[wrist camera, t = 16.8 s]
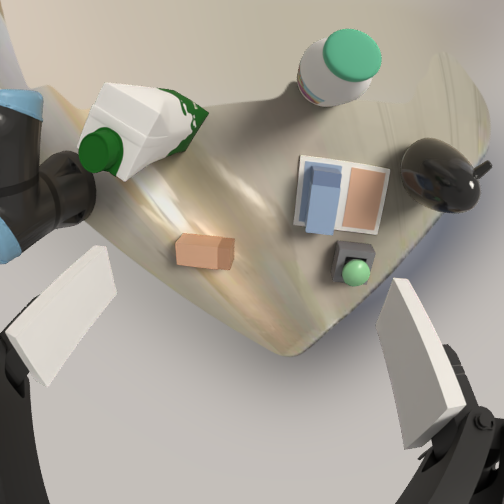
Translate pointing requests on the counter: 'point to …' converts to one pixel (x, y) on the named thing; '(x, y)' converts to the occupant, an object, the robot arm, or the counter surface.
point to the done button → (355, 272)
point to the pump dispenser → (441, 176)
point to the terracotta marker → (205, 251)
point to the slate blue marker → (322, 200)
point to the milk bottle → (338, 68)
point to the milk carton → (136, 128)
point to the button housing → (347, 252)
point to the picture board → (348, 194)
